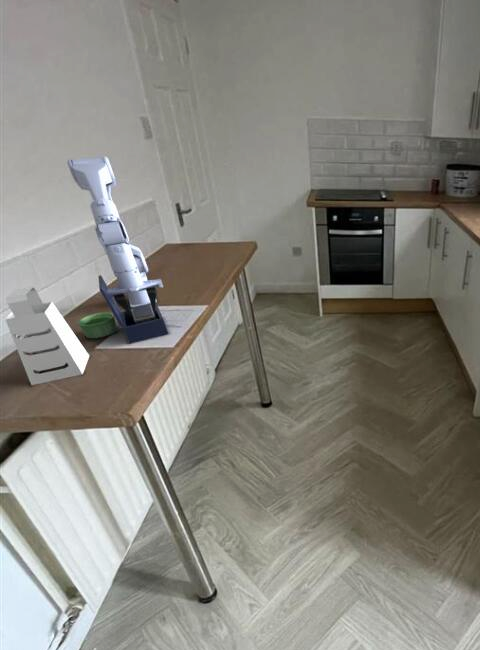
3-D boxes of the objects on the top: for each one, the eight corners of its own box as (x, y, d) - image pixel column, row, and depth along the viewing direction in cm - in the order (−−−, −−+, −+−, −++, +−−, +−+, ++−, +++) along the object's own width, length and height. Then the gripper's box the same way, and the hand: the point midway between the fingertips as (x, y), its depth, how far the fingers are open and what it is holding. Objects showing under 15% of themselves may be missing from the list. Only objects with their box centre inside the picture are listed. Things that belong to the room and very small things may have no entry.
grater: (31, 385, 98) (-18, 304, 87) (42, 365, 106) (-1, 289, 95) (82, 374, 101) (41, 294, 90) (89, 355, 109) (52, 281, 98)
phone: (134, 317, 123) (131, 308, 121) (154, 313, 125) (150, 303, 123) (137, 329, 116) (133, 319, 114) (158, 324, 118) (154, 314, 116)
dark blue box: (162, 318, 129) (156, 303, 126) (168, 333, 118) (163, 318, 116) (126, 326, 125) (120, 312, 122) (129, 343, 114) (123, 328, 112)
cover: (101, 275, 116) (98, 275, 116) (102, 288, 105) (99, 289, 105) (120, 310, 122) (118, 311, 122) (123, 326, 112) (121, 327, 111)
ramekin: (87, 330, 123) (80, 316, 121) (120, 323, 126) (115, 310, 124) (81, 342, 116) (74, 327, 114) (117, 335, 119) (111, 320, 117)
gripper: (95, 278, 106) (116, 327, 114) (156, 267, 112) (173, 314, 120) (95, 272, 112) (115, 319, 119) (153, 261, 118) (169, 307, 125)
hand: (144, 316), depth 120 cm, fingers closed on phone, 5 cm apart
